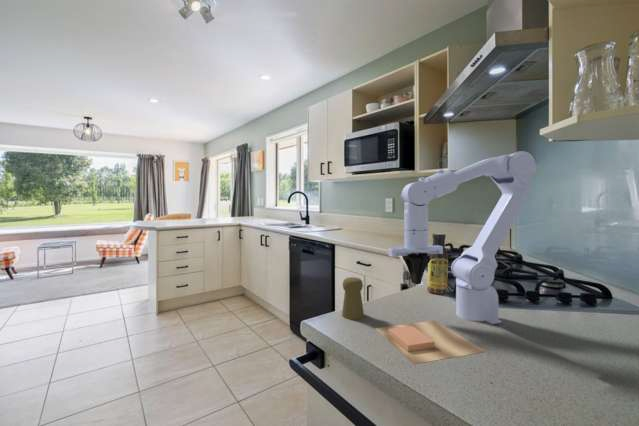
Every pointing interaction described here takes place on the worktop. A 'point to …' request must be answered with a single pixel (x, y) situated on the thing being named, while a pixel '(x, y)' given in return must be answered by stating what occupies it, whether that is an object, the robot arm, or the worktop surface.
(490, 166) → the robot arm
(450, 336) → the tan cloth
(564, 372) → the worktop surface
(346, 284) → the pepper shaker
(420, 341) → the tile
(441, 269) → the sauce bottle
